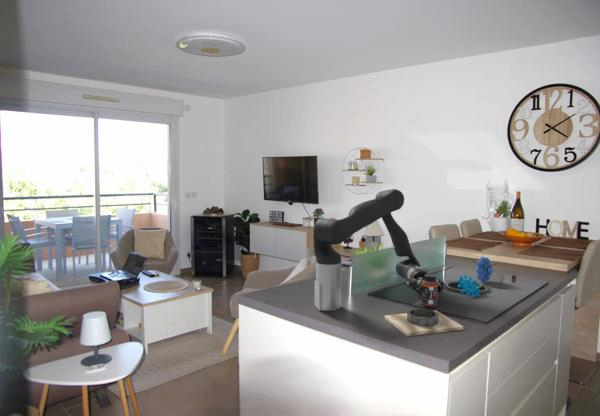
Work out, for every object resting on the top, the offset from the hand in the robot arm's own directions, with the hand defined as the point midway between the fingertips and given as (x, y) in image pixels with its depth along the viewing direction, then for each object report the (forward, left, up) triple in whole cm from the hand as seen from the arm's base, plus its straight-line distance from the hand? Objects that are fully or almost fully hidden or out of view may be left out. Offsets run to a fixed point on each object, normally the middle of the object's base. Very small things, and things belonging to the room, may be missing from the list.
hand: (432, 289), depth 157 cm
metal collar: (-11, -13, -7) cm, 18 cm away
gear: (+24, +10, -7) cm, 27 cm away
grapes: (+42, +23, -7) cm, 48 cm away
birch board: (-11, -13, -7) cm, 18 cm away
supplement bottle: (0, +2, -7) cm, 7 cm away
